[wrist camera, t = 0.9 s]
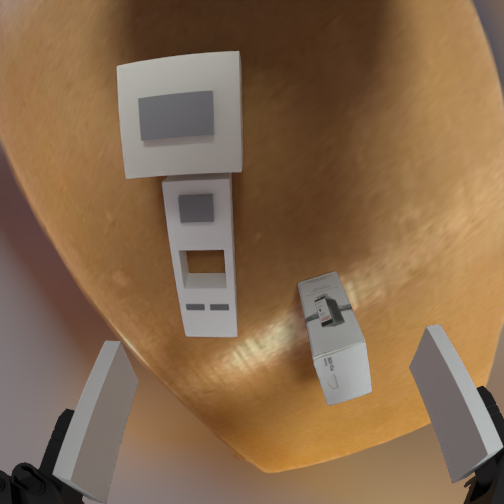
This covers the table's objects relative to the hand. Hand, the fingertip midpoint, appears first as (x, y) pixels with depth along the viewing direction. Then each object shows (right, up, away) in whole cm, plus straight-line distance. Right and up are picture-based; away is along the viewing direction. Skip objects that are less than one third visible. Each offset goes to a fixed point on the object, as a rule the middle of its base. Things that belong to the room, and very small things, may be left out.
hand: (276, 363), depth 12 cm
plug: (-6, +17, +13) cm, 23 cm away
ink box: (+8, -2, +24) cm, 25 cm away
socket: (-6, +4, +21) cm, 22 cm away
